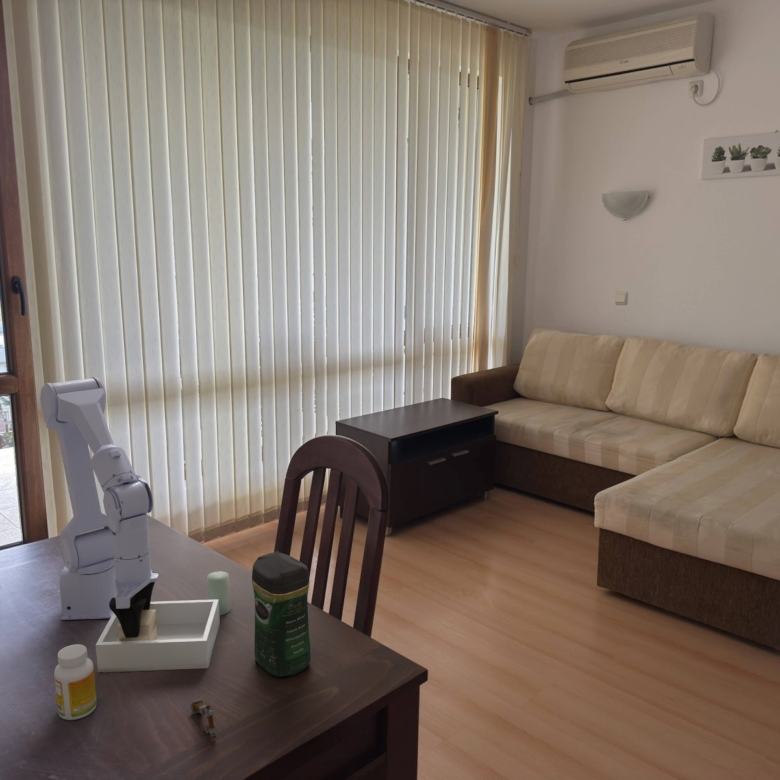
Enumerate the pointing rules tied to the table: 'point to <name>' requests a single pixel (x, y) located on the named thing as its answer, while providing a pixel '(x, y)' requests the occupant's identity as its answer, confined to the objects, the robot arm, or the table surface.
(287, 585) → the coffee jar
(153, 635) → the maple cube
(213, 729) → the wooden post with brackets
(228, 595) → the sage cylinder
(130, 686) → the table surface
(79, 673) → the supplement bottle
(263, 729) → the table surface
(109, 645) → the tote
